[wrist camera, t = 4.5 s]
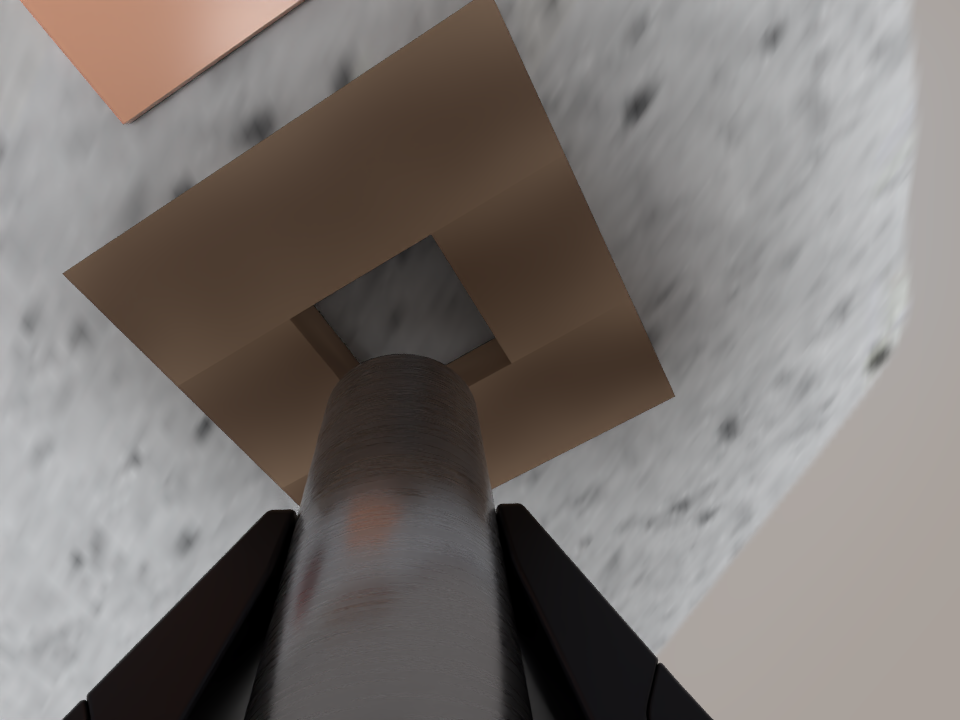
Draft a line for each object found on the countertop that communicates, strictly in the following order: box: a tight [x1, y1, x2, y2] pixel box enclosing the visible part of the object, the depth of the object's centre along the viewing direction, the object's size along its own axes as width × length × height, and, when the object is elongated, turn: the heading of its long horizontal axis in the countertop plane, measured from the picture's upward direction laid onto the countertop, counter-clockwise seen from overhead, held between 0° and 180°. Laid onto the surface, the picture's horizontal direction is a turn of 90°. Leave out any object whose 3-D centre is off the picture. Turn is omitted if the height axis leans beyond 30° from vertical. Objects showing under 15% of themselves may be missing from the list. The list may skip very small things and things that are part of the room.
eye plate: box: [63, 0, 675, 506], centre depth 16 cm, size 12×12×2 cm
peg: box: [244, 354, 533, 720], centre depth 8 cm, size 3×3×9 cm
